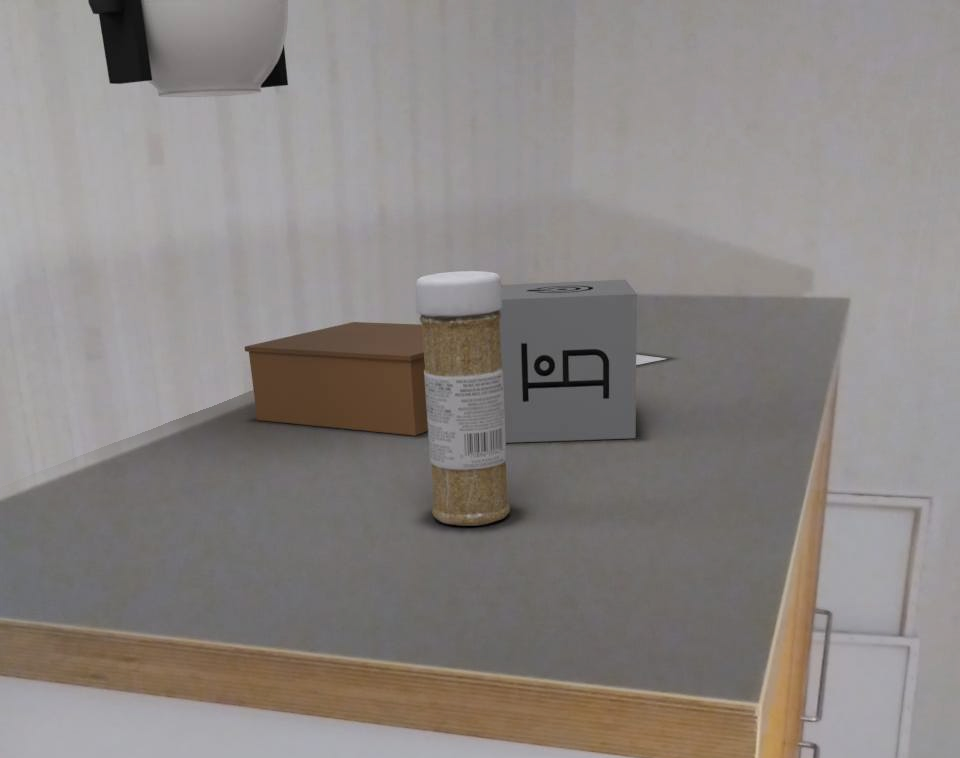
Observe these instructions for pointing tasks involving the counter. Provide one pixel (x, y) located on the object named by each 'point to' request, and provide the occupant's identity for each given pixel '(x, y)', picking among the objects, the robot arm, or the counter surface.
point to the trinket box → (213, 45)
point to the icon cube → (569, 360)
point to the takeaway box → (344, 378)
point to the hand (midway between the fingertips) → (204, 84)
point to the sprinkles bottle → (464, 395)
